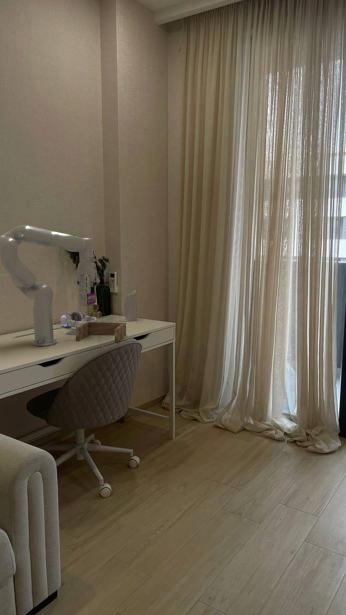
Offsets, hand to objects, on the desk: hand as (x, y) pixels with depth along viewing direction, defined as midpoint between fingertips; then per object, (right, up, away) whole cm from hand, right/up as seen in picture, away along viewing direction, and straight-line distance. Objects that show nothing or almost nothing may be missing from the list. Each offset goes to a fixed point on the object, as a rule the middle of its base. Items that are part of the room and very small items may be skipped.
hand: (87, 293), depth 250 cm
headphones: (-10, -20, +31) cm, 38 cm away
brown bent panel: (+8, -25, -1) cm, 26 cm away
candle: (+16, -17, +50) cm, 55 cm away
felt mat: (-10, -22, +14) cm, 28 cm away
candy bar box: (0, -6, +1) cm, 6 cm away
